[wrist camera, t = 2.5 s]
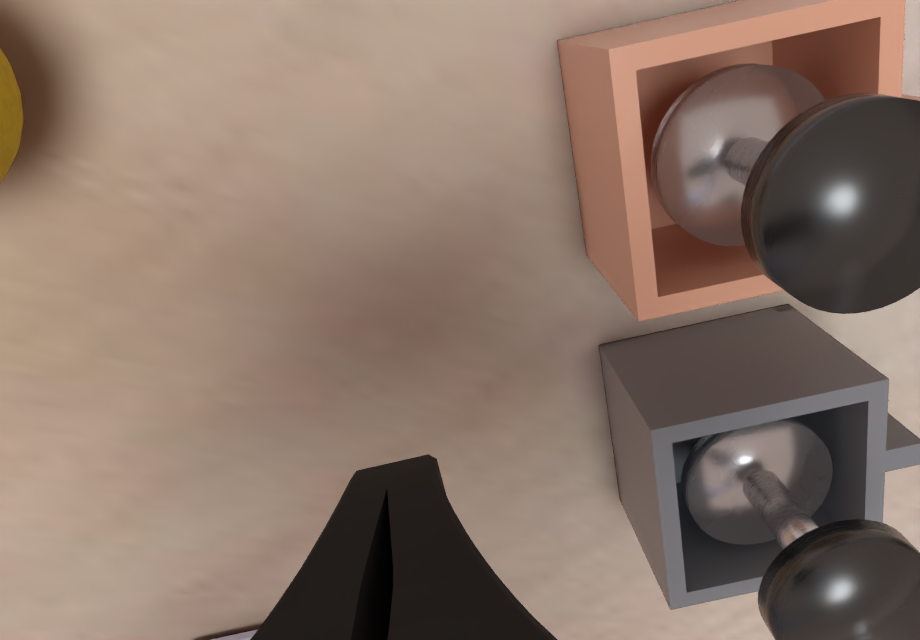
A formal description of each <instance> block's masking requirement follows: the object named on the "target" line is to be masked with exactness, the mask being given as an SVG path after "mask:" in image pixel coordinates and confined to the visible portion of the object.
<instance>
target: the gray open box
mask: <svg viewBox="0 0 920 640" xmlns="http://www.w3.org/2000/svg"><path fill="white" fill-rule="evenodd" d="M599 350H600V357H601V365H602V372H603V379H604V386H605V394H606V401H607V408H608V416H609V423H610V430H611V438H612V445H613V452H614V459H615V467H616V474H617V481H618V489H619V496H620V501H621V503H622V505H623V507H624V509H625V512H626V514H627V516H628V518H629V520H630V523H631V525H632V527H633V529H634V531H635V534H636V536H637V538H638V540H639V542H640V544H641V547H642V549H643V551H644V553H645V555H646V558H647V560H648V562H649V564H650V566H651V568H652V571H653V573H654V575H655V577H656V579H657V582H658V584H659V586H660V588H661V590H662V592H663V595H664V597H665V599H666V601H667V603H668V606H669V608H670V610H673V609H677V608H682V607H687V606H691V605H696V604H701V603H705V602H710V601H714V600H719V599H724V598H728V597H733V596H738V595H742V594H747V593H752V592H756V591H759V587H760V584H761V581H762V578H763V576H764V574H765V572H766V570H767V568H768V567H769V565H770V564H771V563H772V561H773V560H774V559H775V558H776V556H777V555H778V554H779V553H780V552H781V551H782V550H783V548H782V547H781V545H780V544H779V543H778V541H777V540H776V539H774V540H772V541H768V542H764V543H759V544H750V545H739V544H731V543H726V542H723V541H720V540H718V539H715V538H713V537H712V536H710V535H708V534H707V533H706V532H704V531H703V530H702V529H701V528H700V527H699V525H698V524H697V523H696V522H695V520H694V518H693V516H692V515H691V513H690V511H689V510H688V508H687V506H686V504H685V502H684V500H683V497H682V493H681V474H682V470H683V466H684V463H685V461H686V459H687V457H688V455H689V453H690V452H691V450H692V448H693V447H694V446H695V445H696V443H697V442H698V441H699V440H700V439H701V438H702V437H703V436H707V435H712V434H717V433H721V432H726V431H730V430H735V429H740V428H744V427H749V426H754V425H758V424H763V423H767V422H772V421H777V420H781V419H786V418H791V417H796V418H798V419H799V420H801V421H802V422H804V423H805V424H806V425H807V426H808V427H809V428H810V429H811V430H812V431H813V432H814V433H815V434H816V435H817V436H818V437H819V438H820V439H821V440H822V441H823V442H824V444H825V445H826V447H827V449H828V451H829V453H830V456H831V460H832V468H833V473H832V480H831V485H830V488H829V490H828V493H827V495H826V497H825V499H824V501H823V502H822V504H821V505H820V507H819V508H818V509H817V511H816V512H815V513H814V514H813V515H812V516H811V518H812V520H813V521H814V522H815V523H816V524H817V526H818V527H821V526H823V525H826V524H830V523H833V522H837V521H843V520H852V519H864V520H872V521H878V522H881V523H883V504H884V482H885V472H887V471H892V470H897V469H901V468H906V467H911V466H915V465H920V439H919V438H918V437H917V436H916V435H914V434H913V433H912V432H911V431H910V430H908V429H907V428H906V427H905V426H903V425H902V424H901V423H900V422H899V421H897V420H896V419H895V418H894V417H892V416H891V415H890V414H889V413H888V391H889V379H888V378H887V377H886V376H884V375H883V374H882V373H880V372H879V371H878V370H876V369H875V368H874V367H872V366H871V365H870V364H868V363H867V362H866V361H864V360H863V359H861V358H860V357H859V356H857V355H856V354H855V353H853V352H852V351H851V350H849V349H848V348H847V347H845V346H844V345H843V344H841V343H840V342H839V341H837V340H836V339H835V338H833V337H832V336H831V335H829V334H828V333H827V332H825V331H824V330H823V329H821V328H820V327H819V326H817V325H816V324H815V323H813V322H812V321H810V320H809V319H808V318H806V317H805V316H804V315H802V314H801V313H800V312H798V311H797V310H796V309H794V308H793V307H792V306H790V305H789V304H787V305H782V306H777V307H773V308H768V309H763V310H759V311H754V312H750V313H745V314H740V315H736V316H731V317H727V318H722V319H717V320H713V321H708V322H704V323H699V324H694V325H690V326H685V327H681V328H676V329H671V330H667V331H662V332H658V333H653V334H648V335H644V336H639V337H634V338H630V339H625V340H621V341H616V342H611V343H607V344H602V345H599Z"/></svg>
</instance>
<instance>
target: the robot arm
mask: <svg viewBox="0 0 920 640" xmlns="http://www.w3.org/2000/svg"><path fill="white" fill-rule="evenodd" d="M211 640H557V639H556V638H555V637H554V636H553V635H552V634H551V633H550V632H549V631H548V630H547V629H545V628H544V627H543V626H542V625H541V624H540V623H539V622H538V621H537V620H536V619H535V618H534V617H533V616H532V615H531V614H530V613H529V612H528V611H527V610H526V608H525V607H524V606H523V605H522V604H521V603H520V602H519V601H518V600H517V599H516V598H515V597H514V595H513V594H512V593H511V592H510V591H509V589H508V588H507V587H506V586H505V585H504V584H503V582H502V581H501V580H500V579H499V578H498V576H497V575H496V574H495V572H494V571H493V570H492V569H491V567H490V566H489V565H488V563H487V562H486V561H485V559H484V558H483V556H482V555H481V553H480V552H479V551H478V549H477V548H476V546H475V545H474V543H473V542H472V540H471V539H470V537H469V536H468V534H467V533H466V531H465V529H464V528H463V526H462V524H461V522H460V521H459V519H458V517H457V515H456V514H455V512H454V510H453V508H452V506H451V504H450V502H449V500H448V498H447V496H446V492H445V489H444V485H443V481H442V478H441V474H440V470H439V467H438V463H437V459H435V458H434V457H432V456H430V455H424V456H420V457H415V458H411V459H407V460H402V461H398V462H393V463H389V464H384V465H380V466H376V467H371V468H367V469H362V470H358V471H356V472H355V474H354V475H353V477H352V478H351V480H350V482H349V484H348V486H347V488H346V489H345V491H344V493H343V495H342V497H341V499H340V501H339V503H338V505H337V506H336V508H335V510H334V512H333V514H332V516H331V518H330V519H329V521H328V523H327V525H326V527H325V528H324V530H323V532H322V533H321V535H320V537H319V539H318V540H317V542H316V544H315V545H314V547H313V549H312V551H311V552H310V554H309V556H308V557H307V559H306V561H305V562H304V564H303V565H302V567H301V569H300V570H299V572H298V573H297V575H296V576H295V578H294V579H293V581H292V582H291V584H290V585H289V587H288V588H287V590H286V591H285V593H284V594H283V596H282V597H281V599H280V600H279V602H278V603H277V605H276V606H275V607H274V609H273V610H272V612H271V613H270V614H269V616H268V617H267V619H266V620H265V621H264V623H263V624H262V625H261V627H260V628H259V629H258V630H253V631H248V632H244V633H239V634H234V635H230V636H225V637H220V638H216V639H211Z"/></svg>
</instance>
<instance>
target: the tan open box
mask: <svg viewBox="0 0 920 640" xmlns="http://www.w3.org/2000/svg"><path fill="white" fill-rule="evenodd" d="M905 6H906V0H740V1H735V2H731V3H726V4H721V5H717V6H712V7H708V8H703V9H699V10H694V11H690V12H685V13H680V14H676V15H671V16H667V17H662V18H658V19H653V20H648V21H644V22H639V23H635V24H630V25H626V26H621V27H617V28H612V29H607V30H603V31H598V32H594V33H589V34H585V35H580V36H576V37H571V38H566V39H562V40H557V43H558V51H559V58H560V65H561V72H562V80H563V87H564V94H565V102H566V109H567V116H568V124H569V131H570V138H571V145H572V153H573V160H574V167H575V175H576V182H577V189H578V197H579V204H580V211H581V218H582V226H583V233H584V240H585V248H586V255H587V256H588V258H589V259H590V260H591V261H592V263H593V264H594V265H595V267H596V268H597V269H598V270H599V272H600V273H601V274H602V276H603V277H604V278H605V279H606V281H607V282H608V283H609V284H610V286H611V287H612V288H613V290H614V291H615V292H616V293H617V295H618V296H619V297H620V299H621V300H622V301H623V302H624V304H625V305H626V306H627V308H628V309H629V310H630V311H631V313H632V314H633V315H634V316H635V318H636V319H637V320H638V322H640V321H644V320H649V319H653V318H658V317H663V316H667V315H672V314H676V313H681V312H686V311H690V310H695V309H700V308H704V307H709V306H713V305H718V304H723V303H727V302H732V301H736V300H741V299H746V298H750V297H755V296H759V295H764V294H769V293H773V292H778V291H782V290H783V289H782V288H781V287H779V286H778V285H776V284H775V283H774V282H772V281H771V280H770V279H769V278H767V277H766V276H765V275H764V274H763V273H762V272H761V271H760V270H759V269H758V268H757V266H756V265H755V264H754V262H753V260H752V259H751V257H750V255H749V253H748V251H747V248H746V246H745V245H743V246H721V245H716V244H712V243H708V242H705V241H703V240H700V239H698V238H697V237H695V236H693V235H691V234H690V233H688V232H687V231H686V230H684V229H683V228H682V227H681V226H679V225H678V224H677V223H676V222H674V221H673V220H672V219H671V218H670V217H669V216H668V214H667V213H666V212H665V211H664V209H663V208H662V206H661V205H660V203H659V200H658V198H657V196H656V194H655V190H654V187H653V183H652V177H651V153H652V148H653V143H654V139H655V136H656V133H657V130H658V128H659V126H660V124H661V122H662V120H663V118H664V116H665V114H666V113H667V111H668V110H669V108H670V107H671V105H672V104H673V103H674V102H675V100H676V99H677V98H678V97H679V96H680V95H681V94H682V93H683V92H684V91H685V90H686V89H687V88H688V87H689V86H691V85H692V84H693V83H694V82H696V81H697V80H698V79H700V78H702V77H704V76H705V75H707V74H709V73H711V72H713V71H716V70H718V69H720V68H724V67H727V66H730V65H736V64H743V63H757V64H764V65H771V66H778V67H782V68H785V69H789V70H791V71H794V72H796V73H798V74H800V75H801V76H803V77H804V78H806V79H807V80H809V81H810V82H811V83H812V84H813V85H814V86H815V87H816V88H817V89H818V90H819V92H820V93H821V94H822V96H823V97H824V99H825V100H827V99H830V98H833V97H837V96H840V95H845V94H852V93H876V94H883V95H889V96H895V97H901V98H907V99H912V100H918V101H920V97H916V96H909V95H903V94H902V74H903V51H904V28H905Z"/></svg>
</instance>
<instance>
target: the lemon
mask: <svg viewBox="0 0 920 640" xmlns="http://www.w3.org/2000/svg"><path fill="white" fill-rule="evenodd" d="M23 121H24V119H23V110H22V100H21V92H20V89H19V86H18V84H17V81H16V78H15V75H14V73H13V70H12V67H11V64H10V63H9V61H8V60H7V58H6V56H5V55H4V53H3V52H2V50H1V48H0V182H1V181H2V180H3V179H4V177H5V176H6V174H7V172H8V170H9V168H10V166H11V164H12V162H13V160H14V158H15V156H16V154H17V152H18V149H19V144H20V138H21V132H22V126H23Z"/></svg>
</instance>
